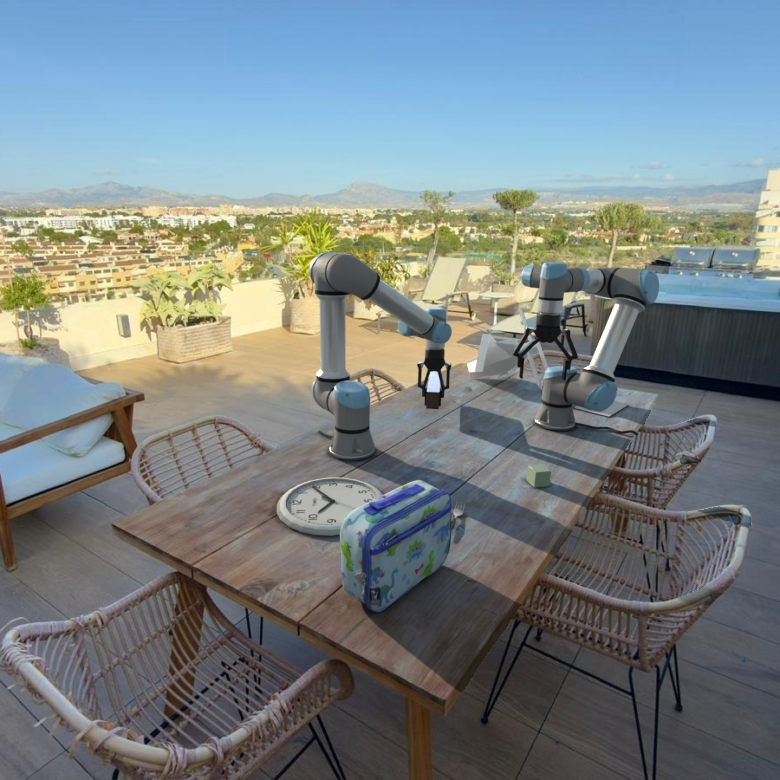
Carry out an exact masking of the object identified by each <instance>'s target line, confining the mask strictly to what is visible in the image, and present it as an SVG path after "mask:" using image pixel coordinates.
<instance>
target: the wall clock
mask: <svg viewBox="0 0 780 780" xmlns="http://www.w3.org/2000/svg"><path fill="white" fill-rule="evenodd" d="M384 494H385V493H383V492H382V491H381V490H380V489H379V488H377V487H376V486H374V485H372V484H371V483H369V482H365V481H362V480H359V479H355V478H349V477H338V476H337V477H335V476H333V477H332V476H331V477H322V478H317V479H312V480H307V481H305V482H302V483H299V484H297V485H295V486H293V487H292V488H290V489H288V490H287V491H286V492H285V493H284V494H283V495H281V496H280V498H279V499H278V502H277V503H276V515H277V517H278V518H279V520H280V521H281V522H282V523H283V524H285V525H286V526H287V527H288V528H290V529H293V530H295V531H297V532H299V533H303V534H308V535H312V536H327V537H328V536H329V537H331V536H332V537H333V536H340V530H341V526H342V523H343V521H344V519H345V518H346V516H347V515H348V514H349V513H350V512H351V511H353V510H354V509H356V508H358V507H360V506H362V505H364V504H366V503H368V502H370V501H372V500H374V499H376V498H378V497H380V496H382V495H384Z"/></svg>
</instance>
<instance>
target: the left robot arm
mask: <svg viewBox="0 0 780 780" xmlns="http://www.w3.org/2000/svg"><path fill="white" fill-rule="evenodd" d="M308 274H309V278H310V280H311V282H312V283H313V284H314V296H316V297H317V298H318V300H319V340H320V342H319V346H320V348H319V349H320V350H319V351H320V352H319V353H320V357H319V359H320V368H319V370H318V371H317V372H316V375H315V377H316V378H315V380H314V381H313V382H312V386H311V396H312V398H313V400H314V402H315V403H316V404H317V405H318V406H319V407H320V408H321V409H323V410H325V411H327V412H329V413H330V414H331V415H333V417H334V432H333V434H332V435H331V434H327V433H324V432H322V431H321V430H318V433H319V434H320V435H322V436H324V437H327V438H330V444H329V454H330V455H331V457H333V458H335V459H338V460H341V461H351V462H353V461H362V460H365V459H368V458H370V457H372V456H374V454H375V452H376V447H375V443H374V439H373V436H372V433H371V429H370V419H371V418H370V417H371V404H370V403H371V395H370V394H371V393H370V389H369V387H368V386H367V385H366V384H364V383H362V382H361V381H356V380H351V372H349V370H347V369H346V301H347V299H348V298H349V296H351V295H353V296H355V297H357V298H358V299H360V300H362V301H369V302H371V303H372V304H374V305H375V306H377V307H378V308H380V309H382V310H383V311H385V312H386V313H387V314H389V315H390V316H392V317H394V318H395V319H397V320H398V323H397V324H398V325H397V329H398V332H399V334H400V335H401V336H402V337H416V338H420V339H422V340H425V341H424V342H425V345H424V346H425V349H424V359H423V361H418V362H417V364H416V366H417V369H418V370H417V371H418V373H417V388H419V389H421V397H423V398H424V407H426V394H427V385H428V381H429V375H430V372H438V376H439V380H440V385H441V389H440V394H439V407H442V399H445V391H446V390H449V389H450V378H451V377H450V374H451V369H452V366H453V365H452V363H448V362H446V360H445V356H446V355H445V354H446V352H445V351H446V349H445V347H446V343H447V342H449V341H450V339H451V337H452V335H453V330H452V326H451V325H450V324H449V323H447V310H446V309H445V308H444V307H439V306H430V307H427V308H426V310H425V309H423V308H422V307H420V306H419V305H418V304H416V303H415V302H414V301H412V300H411V299H409V298H408V297H407V296H406V295H403V294H402V293H401V292H399V291H398V290H396V289H395V288H394V287H392V286H391V285H389V284H388V283H386V282H385V281H384V280H382V277H381V275H380V273H378V272H377V271H375V270H374V269H373V268H371V267H370V266H369V265H368V264H366V263H365V262H364V261H362V260H360V259H359V258H357V257H356V256H354V255H352V254H349V253H342V252H335V251H326V252H321V253H319V254H317V255H316V256H315V257H314V258H313V259H312V260H311V262H310V265H309V268H308ZM424 366H425V368H426V369H427V370H426V374H425V377H424V380H423V383H422V376H423V375H422V374H423V368H424ZM444 367H445V369H446V377H445V380H446V382H444V378H443V373H442V369H443V368H444Z"/></svg>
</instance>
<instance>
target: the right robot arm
mask: <svg viewBox="0 0 780 780" xmlns="http://www.w3.org/2000/svg"><path fill="white" fill-rule="evenodd" d="M520 280H521V281H520V282H521V283H522V285H523V286H524V287H527V288H531V289H538V290H539V291H538V298H537V309H536V311H537V313H536V316H535V325H534V328H532V327H529V326H528V327H529V328H528V327H526V328H524V332H523V334H522V335H521V338H520V339H519V340H518V341H517V342H518V344H517V345H516V347H515V349H514V350H513V352H512V354H513V356H516V357H518V359H517V365H516V367H517V368H519V374H518V375H519V378H520V379H523V378H524V369H525V368H524V367H525V360H524V357H523V356H524V355H525V354H526V353H527V352H528V351H529V350H530V349H531V348H532V347H533V346H534V345H535V344H537V343H538V342H540V343H542V344H544V343H545V344H546V343H548V344H552V343H555V344H556V346H557V347H558V348H559V349H560V351H561V353H562V354H563V355H564V356H565V358H563V365H557V366H556V365H555V366H550V367H549V366H548V367H549V368H547V369H546V371H545V370H544V375H543V378H542V379H543V381H542V382H543V383H542V394H541V402H540V405H539V407H538V410H537V411H536V413H535V415H534V424H535V425H536V426H537V427H539V428H542V429H544V430H549V431H556V432H567V431H572V430H574V429H575V428H576V426H579V427H583V428H588V429H592V430H609V431H611V432H614V433H616V434H620V435H621V434H622V435H623V434H634V435H635V436H639V433H638V432H637V431H635V430H633V429H628V430H618V429H615V428H612V427H610V426H594V425H590V424H586V423H581V422H577V421H576V418H575V417H576V416H575V413H574V407H573V406H575V407H576V406H580V407H583V408H586V409H588V410H593V411H597V412H601V411H604V410H606V409H608V408H609V407H610V406H611V405H612V403H613V402H615V400H616V398H617V395H618V385H617V384H616V378H615V375H614V372H615V370H616V368H617V365H618V362H619V360H620V358H621V355H622V354H623V351H624V348H625V346H626V344H627V342H628V338H629V337H630V334H631V331H632V330H633V327H634V325H635V322H636V320H637V317H638V314H639V313H641V312H644V311H645V310H646V306H647V305H652V304H653V303H654V302H655V301H656V300H657V299H658V296H659V292H660V279H659V276H658V275H657V273H656V272H655V271H654V270H650V269H645V268H630V267H619V266H618V267H615V266H614V267H613V266H612V267H591V268H588V269H586V268H583V267H568V265H567V263H565V262H558V261H557V262H556V261H555V262H553V261H550V262H549V261H548V262H546V261H545V262H544V263H543V264H542V265H540V264H539V265H538V264H528V265H526V266H525V267H524V268H523V269H522V271H521V275H520ZM579 292H583V293H585V294H587V295H594V296H599V297H602V298H606V299H611V303H612V304H613V307H612V310H611V312H610V313H609V314H610V315H609V317H608V319H607V321H606V324H605V327H604V328H603V332H602V334H601V337H600V339H599V341H598V344H597V345H596V346H597V347H596V348H595V351H594V353H593V356H592V358H591V360H590V363H589V365H587V366H584V367H583V369H582V370H581V373H578V368H577V367H576V366H572V361H573V360H577V359H578V358H579V355H578V352H577V349H576V348H575V344H574V342H573V340H572V338H571V330H570V329H569V328H567V327H566V328H564V329H561V325H562V324H561V323H562V313H563V306H564V297H565V294H566V293H567V294H568V293H579ZM532 334H534V335H535V336H534V337H532V341H531V342H530V343H529V344H528V345H527V346H526V347H524V348H523V349H522V350H521V351H520V349H521V347H522V346H523V344H524V343H526V341H527V340H528V336H529V335H531V336H532ZM561 335H562V336H563V337H565V341H566V343H567V345H568V348H569V350H570V353H571V354H570V353H569V352H568V350H567V349H566V347H565V346H564V345H563V344H562V342H561V341H560V340H559V337H560V336H561ZM519 351H520V352H519ZM518 352H519V353H518Z"/></svg>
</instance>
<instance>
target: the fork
mask: <svg viewBox="0 0 780 780" xmlns="http://www.w3.org/2000/svg"><path fill="white" fill-rule="evenodd" d="M458 501H459V500H457V501H456V504H455V507H454V509H453V514H452V515H454V517H453V519H451V531H452V530H453V529H454V527H455V525H456V520H457V517H461V516H463V514H464V511H465V505H466V502H463V501H459V502H458ZM460 504H461V505H460Z"/></svg>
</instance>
